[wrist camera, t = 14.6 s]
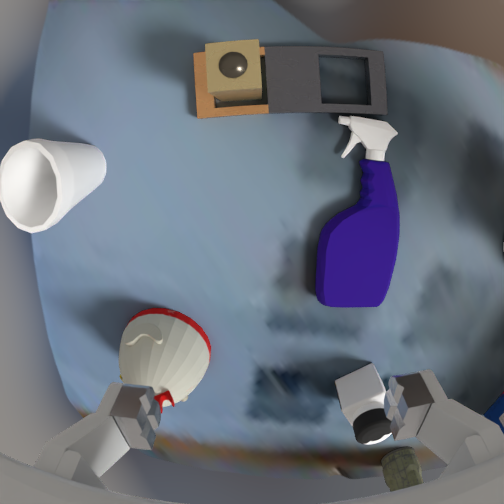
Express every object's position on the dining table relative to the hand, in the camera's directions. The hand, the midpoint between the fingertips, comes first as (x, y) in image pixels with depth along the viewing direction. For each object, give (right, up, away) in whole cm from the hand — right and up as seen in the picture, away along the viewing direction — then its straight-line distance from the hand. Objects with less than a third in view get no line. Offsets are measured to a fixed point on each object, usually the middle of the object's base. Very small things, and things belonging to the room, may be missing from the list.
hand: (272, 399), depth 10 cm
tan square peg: (-2, +24, +24) cm, 34 cm away
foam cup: (-23, +16, +28) cm, 39 cm away
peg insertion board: (+4, +25, +23) cm, 34 cm away
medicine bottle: (+18, -17, +40) cm, 47 cm away
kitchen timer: (-14, -10, +38) cm, 42 cm away
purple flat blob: (+13, +10, +30) cm, 34 cm away
